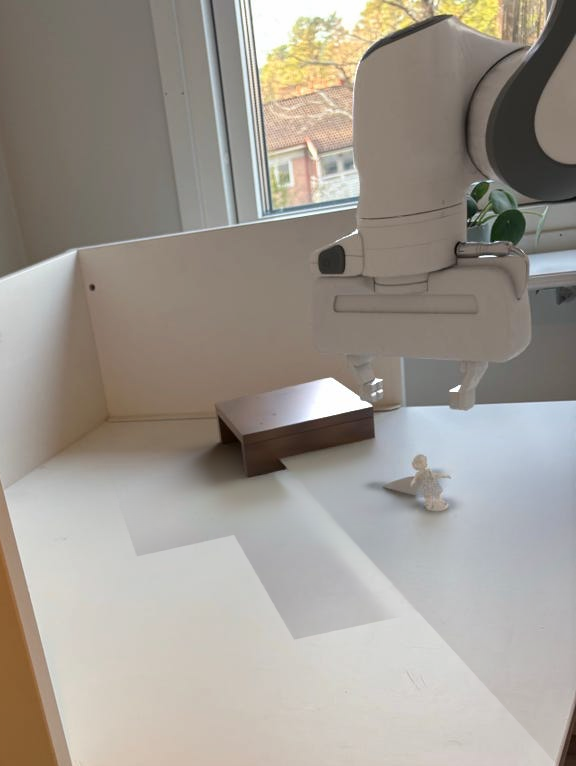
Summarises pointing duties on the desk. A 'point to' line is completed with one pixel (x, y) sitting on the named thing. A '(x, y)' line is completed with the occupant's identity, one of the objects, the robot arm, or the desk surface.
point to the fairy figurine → (415, 483)
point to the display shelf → (293, 422)
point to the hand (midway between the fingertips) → (415, 404)
